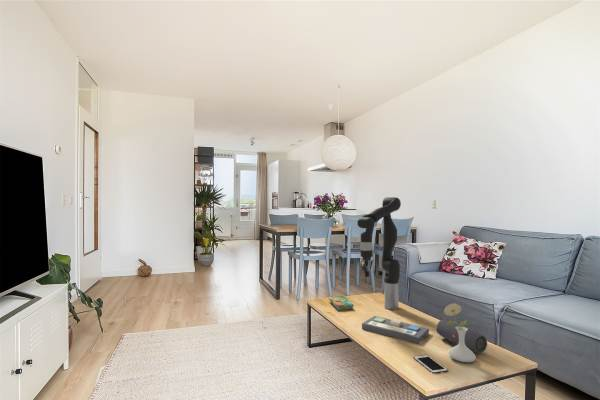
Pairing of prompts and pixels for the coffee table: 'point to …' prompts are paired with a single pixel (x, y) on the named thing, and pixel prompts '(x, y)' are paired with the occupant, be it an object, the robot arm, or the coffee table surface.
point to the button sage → (379, 320)
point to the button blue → (413, 328)
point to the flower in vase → (460, 350)
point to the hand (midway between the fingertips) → (367, 276)
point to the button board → (396, 330)
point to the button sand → (396, 323)
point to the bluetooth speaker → (472, 338)
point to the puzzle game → (341, 302)
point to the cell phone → (430, 364)
